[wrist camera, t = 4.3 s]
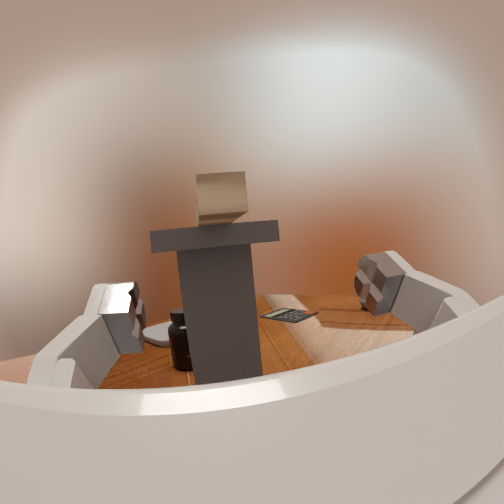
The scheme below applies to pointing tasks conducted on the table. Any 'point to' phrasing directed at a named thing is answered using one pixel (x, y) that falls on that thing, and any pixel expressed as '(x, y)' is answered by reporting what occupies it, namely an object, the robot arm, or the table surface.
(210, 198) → the maple bar
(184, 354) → the supplement bottle
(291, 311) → the calculator
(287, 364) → the table surface
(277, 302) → the table surface
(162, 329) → the tablet
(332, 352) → the table surface
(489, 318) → the robot arm
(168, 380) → the table surface
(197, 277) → the charcoal stand
